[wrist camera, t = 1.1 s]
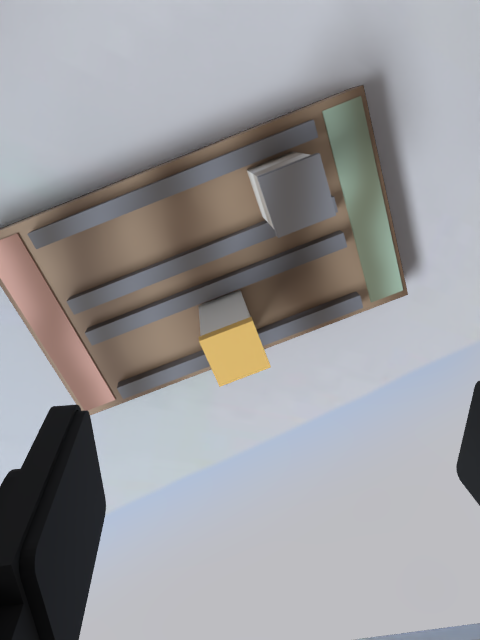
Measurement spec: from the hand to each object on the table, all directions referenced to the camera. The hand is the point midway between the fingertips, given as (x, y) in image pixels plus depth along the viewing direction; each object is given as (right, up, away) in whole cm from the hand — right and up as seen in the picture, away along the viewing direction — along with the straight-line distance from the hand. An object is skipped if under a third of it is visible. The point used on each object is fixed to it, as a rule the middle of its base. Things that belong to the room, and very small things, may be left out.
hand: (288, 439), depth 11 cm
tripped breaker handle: (-2, +3, +20) cm, 20 cm away
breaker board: (-4, +7, +20) cm, 22 cm away
